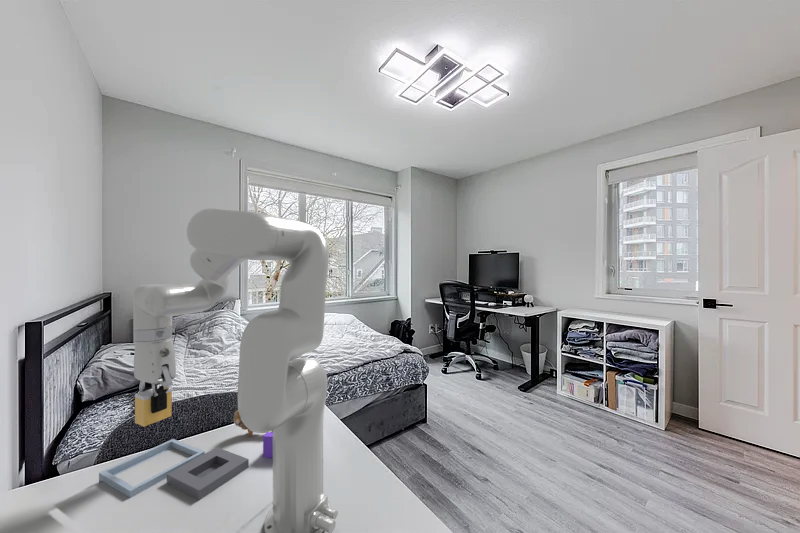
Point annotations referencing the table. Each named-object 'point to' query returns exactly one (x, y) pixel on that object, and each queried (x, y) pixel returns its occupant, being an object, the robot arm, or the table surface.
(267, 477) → the table surface
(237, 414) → the lion figurine
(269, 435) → the purple rectangular block
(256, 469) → the table surface
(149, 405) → the block
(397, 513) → the table surface
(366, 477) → the table surface
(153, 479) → the tray
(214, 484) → the block
